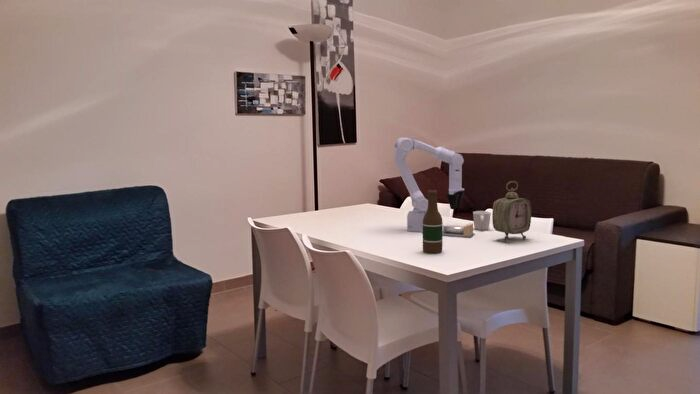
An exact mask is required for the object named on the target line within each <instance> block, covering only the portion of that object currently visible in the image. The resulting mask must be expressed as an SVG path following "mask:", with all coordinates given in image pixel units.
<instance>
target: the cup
mask: <svg viewBox="0 0 700 394" xmlns="http://www.w3.org/2000/svg"><path fill="white" fill-rule="evenodd" d="M472 215H473V217H472V218H473V228H474V229H475V230H478V231H486V230H488V229H489V228H490V223H491V216H492V213H491V212H490V211H488V210H487V211H485V210H476V211H472Z"/></svg>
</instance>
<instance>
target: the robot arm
mask: <svg viewBox="0 0 700 394" xmlns="http://www.w3.org/2000/svg"><path fill="white" fill-rule="evenodd" d="M393 146H394V149H393V151H394V152H393V162H394V164H395V166H396V168H397V171H398V173H399V175H400V177H401V178H402V181H403V182H404V185H405V187H406V189H407V190H408V193H409V197H410V199H411V205H412V207H413V209H412V210H409V211H408V212H407V216H406V227H407V228H406V231H407V232H421V233H423V218H424V215H425V214H426V212H427V209H428V198H426V197H425V196H424V194H423V193H422V191H421V190H420V187H419V186H418V184H417V181H416V180H415V178H414V175H413V173H412V171H411V169H410V168H409V165H408V162H407V160H406V159H407V157H408V155H409V153H410V152H411V151H412V150H420V151H423V152H426V153H429V154H432V155H433V157H434V159H436V160H440V162H444V163H447V164H448V165H449V170H448V172H449V173H448V178H449V179H448V187H449V188H448V193H446V196H445V197H446V198H447V200H448V203H449V204H448V205H449V207H450V210H456V208H459V207H461V203H462V198H463V195H465V188H463V187H462V185H463V184H462V183H463V182H462V181H463V180H462V179H463V178H462V177H463V175H462V174H463V172H462V171H463V168H462V166H463V164H464V162H465V160H464V158H463V155H462V154H460V153H457V152H455V150H450V149H447V148H446V146H444V145H442V146H438V147H434V146H432V145H429V144H427V143H425V142H422V141H421V140H417V139H413V138H409V137H404V136H403V137H399V138H397V140H396V141H395V144H394V145H393Z"/></svg>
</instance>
